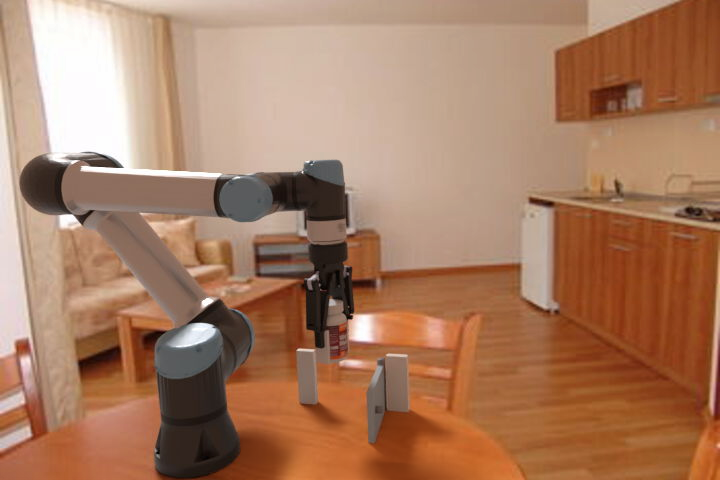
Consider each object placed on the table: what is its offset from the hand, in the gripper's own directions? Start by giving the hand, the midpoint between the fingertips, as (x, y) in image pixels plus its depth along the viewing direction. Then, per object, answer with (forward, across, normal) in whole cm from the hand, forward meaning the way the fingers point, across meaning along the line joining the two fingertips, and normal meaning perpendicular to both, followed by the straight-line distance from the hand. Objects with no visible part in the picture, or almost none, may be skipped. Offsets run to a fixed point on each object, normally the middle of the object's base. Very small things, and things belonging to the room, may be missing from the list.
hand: (333, 356), depth 111 cm
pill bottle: (+1, 0, 0) cm, 1 cm away
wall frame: (+14, +9, +1) cm, 17 cm away
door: (+14, +4, -8) cm, 17 cm away
